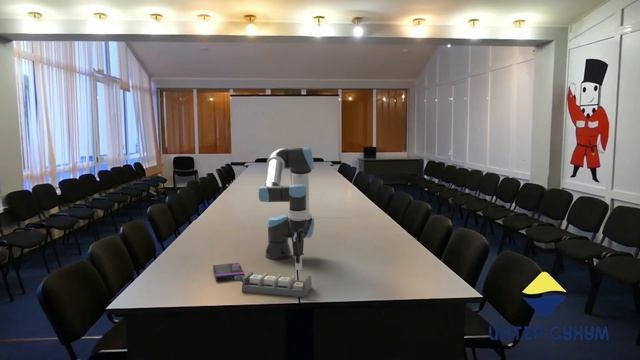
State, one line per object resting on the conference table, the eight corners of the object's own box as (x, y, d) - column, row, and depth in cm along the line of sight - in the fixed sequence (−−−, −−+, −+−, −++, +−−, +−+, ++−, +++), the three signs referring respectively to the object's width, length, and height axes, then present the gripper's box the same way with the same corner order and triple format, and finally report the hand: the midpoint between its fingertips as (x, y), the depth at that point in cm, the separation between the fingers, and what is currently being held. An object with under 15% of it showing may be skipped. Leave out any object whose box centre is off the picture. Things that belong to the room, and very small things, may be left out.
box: (244, 280, 221) (239, 268, 239) (244, 274, 220) (239, 261, 239) (216, 283, 217) (213, 270, 235) (215, 276, 216) (212, 263, 235)
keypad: (251, 282, 216) (251, 270, 215) (311, 287, 208) (311, 275, 208) (241, 291, 204) (241, 279, 203) (304, 297, 197) (304, 284, 196)
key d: (267, 280, 209) (267, 275, 209) (275, 281, 208) (275, 275, 208) (263, 284, 205) (263, 278, 205) (272, 284, 204) (272, 279, 204)
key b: (253, 279, 211) (253, 274, 211) (261, 280, 210) (261, 274, 210) (249, 282, 207) (249, 277, 206) (258, 283, 206) (258, 278, 205)
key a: (281, 282, 208) (281, 276, 207) (290, 282, 207) (290, 277, 206) (278, 285, 203) (278, 279, 203) (287, 286, 202) (287, 280, 202)
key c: (295, 287, 206) (295, 281, 206) (304, 287, 205) (304, 282, 205) (292, 290, 202) (292, 284, 202) (302, 291, 201) (302, 285, 201)
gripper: (294, 215, 207) (294, 264, 210) (285, 221, 194) (286, 273, 197) (309, 216, 205) (310, 265, 208) (302, 222, 192) (302, 274, 196)
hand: (298, 269), depth 203 cm, fingers closed
